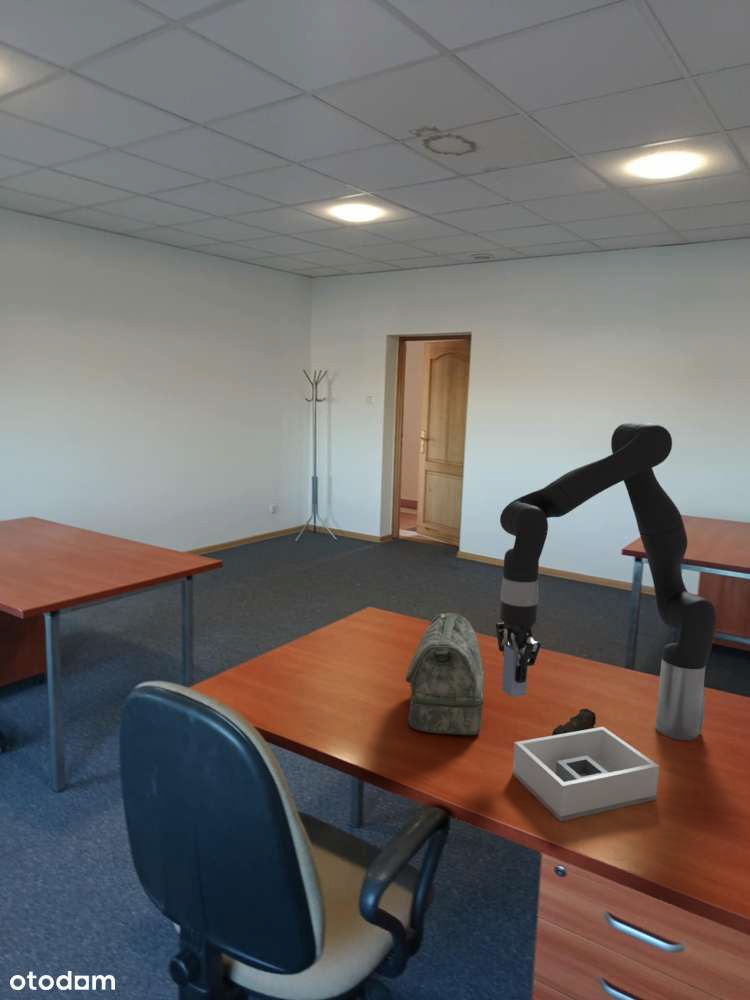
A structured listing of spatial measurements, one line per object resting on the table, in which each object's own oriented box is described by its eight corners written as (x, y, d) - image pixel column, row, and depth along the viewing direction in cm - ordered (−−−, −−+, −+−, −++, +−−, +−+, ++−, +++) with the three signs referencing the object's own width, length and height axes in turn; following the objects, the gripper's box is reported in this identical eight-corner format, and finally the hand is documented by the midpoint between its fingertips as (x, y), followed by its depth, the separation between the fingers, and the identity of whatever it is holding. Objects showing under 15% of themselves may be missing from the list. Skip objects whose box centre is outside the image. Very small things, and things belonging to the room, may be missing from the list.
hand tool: (580, 721, 157) (581, 703, 156) (595, 727, 154) (597, 708, 153) (539, 749, 143) (540, 730, 143) (555, 756, 140) (557, 736, 140)
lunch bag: (416, 685, 174) (419, 606, 170) (484, 693, 170) (489, 613, 167) (400, 732, 148) (403, 641, 145) (480, 743, 145) (485, 649, 142)
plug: (516, 687, 139) (519, 643, 138) (526, 694, 136) (528, 649, 135) (502, 689, 138) (504, 644, 137) (511, 696, 135) (513, 651, 133)
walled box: (600, 757, 140) (603, 726, 139) (655, 799, 125) (659, 765, 124) (512, 774, 133) (514, 742, 132) (560, 821, 118) (562, 786, 117)
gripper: (555, 607, 129) (549, 689, 131) (516, 588, 142) (512, 663, 144) (522, 611, 126) (517, 694, 129) (486, 591, 139) (482, 667, 142)
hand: (514, 677), depth 137 cm, fingers closed on plug, 3 cm apart
